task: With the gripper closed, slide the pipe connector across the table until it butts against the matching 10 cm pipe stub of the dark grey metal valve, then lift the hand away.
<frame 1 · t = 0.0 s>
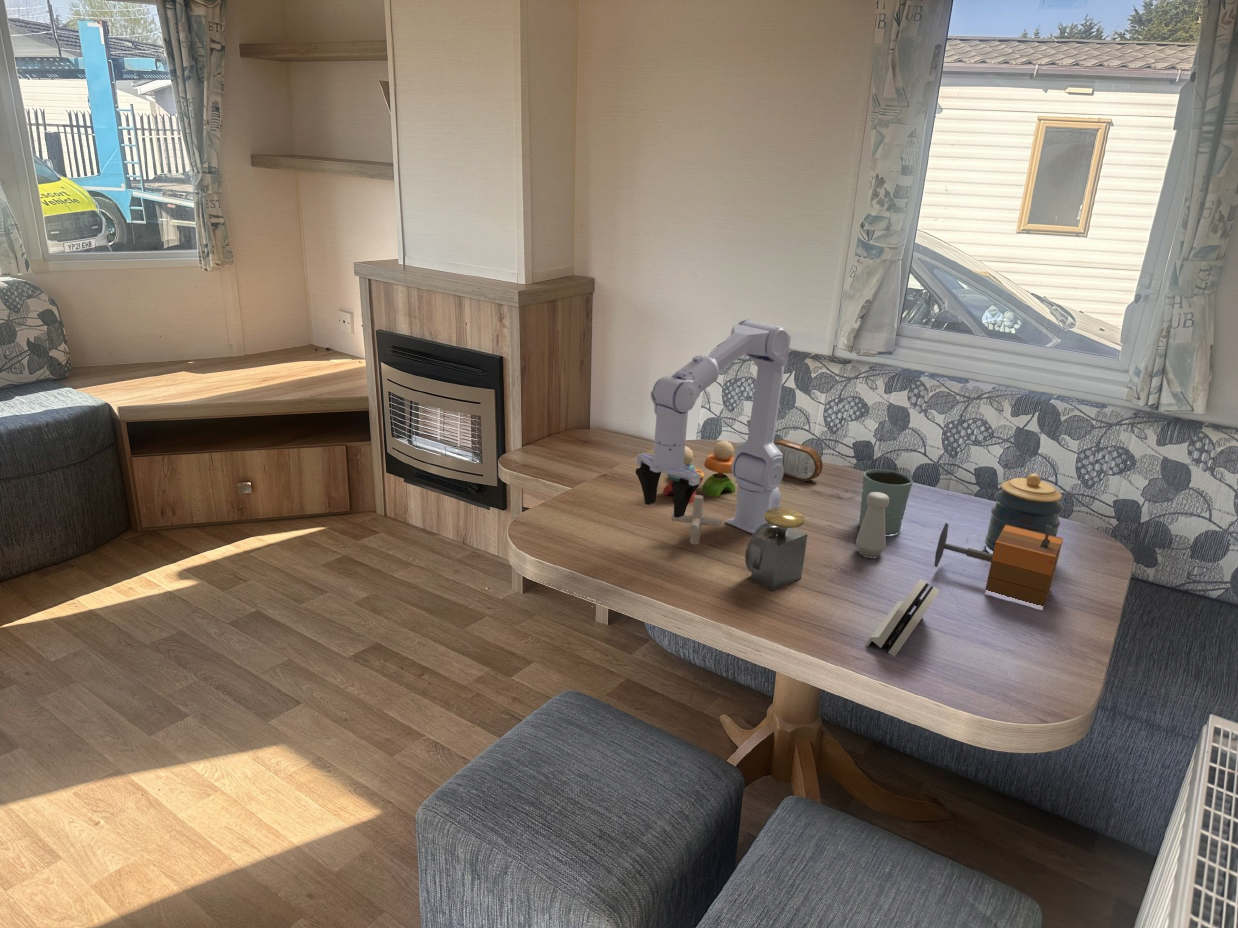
hand: (664, 509, 167), 10 cm above the table, tool pointing down, fingers open, 7 cm apart
valve: (774, 578, 164), on the table
colourful wooden stacking toy: (690, 491, 207), on the table
tin: (791, 476, 221), on the table
pipe connector: (694, 543, 178), on the table
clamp: (989, 586, 168), on the table
hinge: (902, 635, 148), on the table
salt shaker: (868, 554, 178), on the table
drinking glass: (879, 529, 191), on the table
canister: (1016, 554, 182), on the table
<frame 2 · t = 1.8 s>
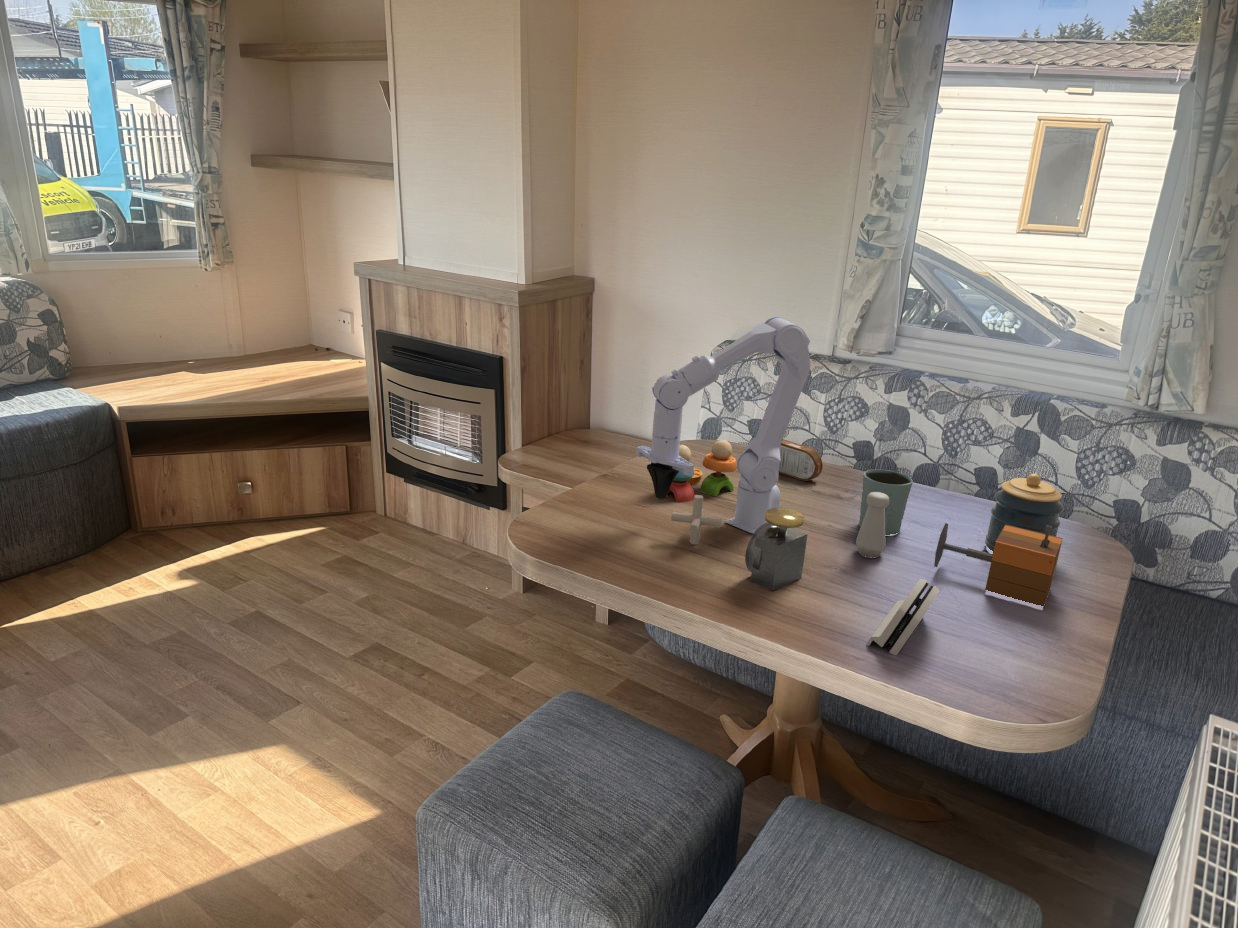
hand: (661, 497, 182), 7 cm above the table, tool pointing down, fingers closed
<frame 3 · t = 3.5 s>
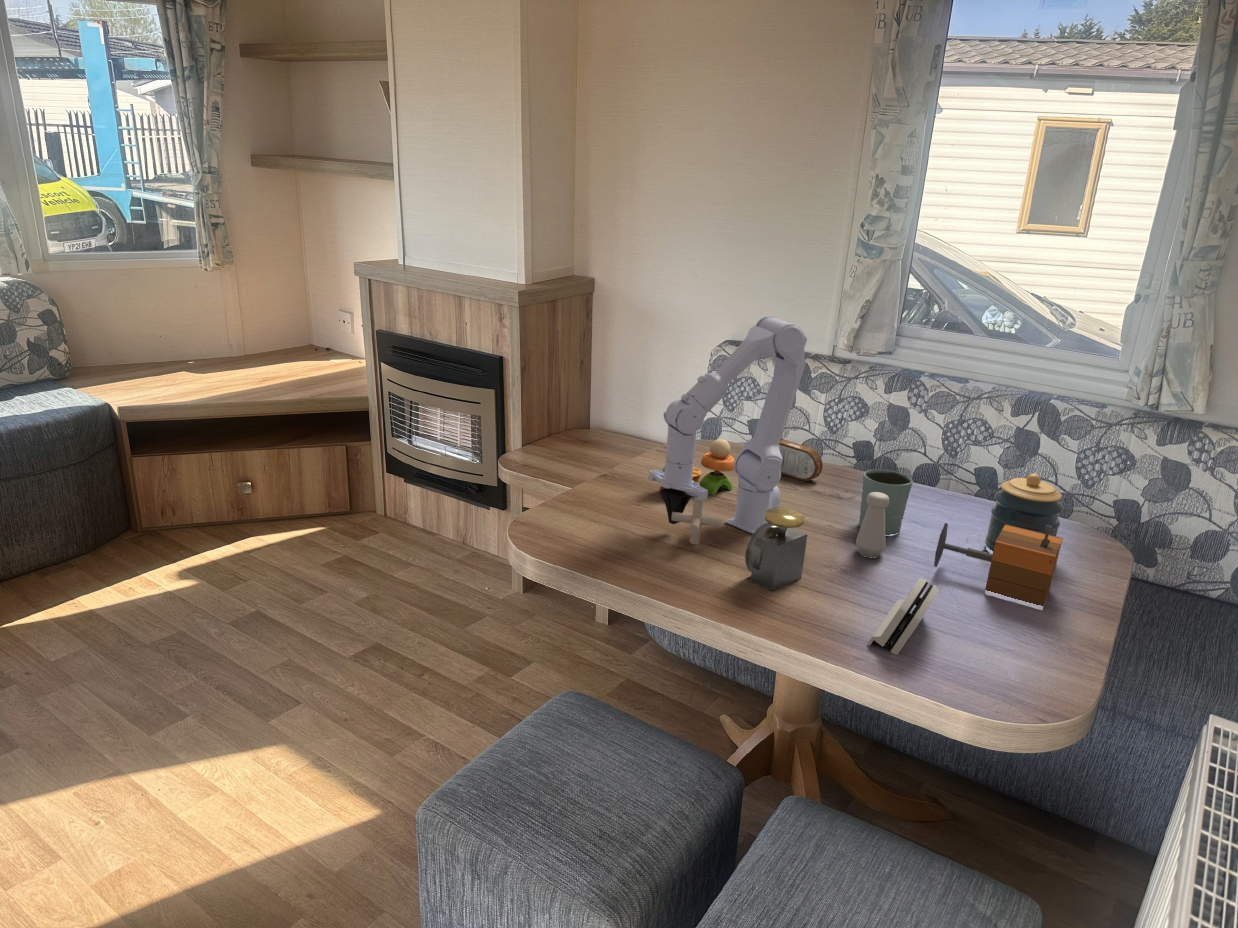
hand: (674, 522, 181), 2 cm above the table, tool pointing down, fingers closed
pipe connector: (694, 543, 178), on the table, touching gripper
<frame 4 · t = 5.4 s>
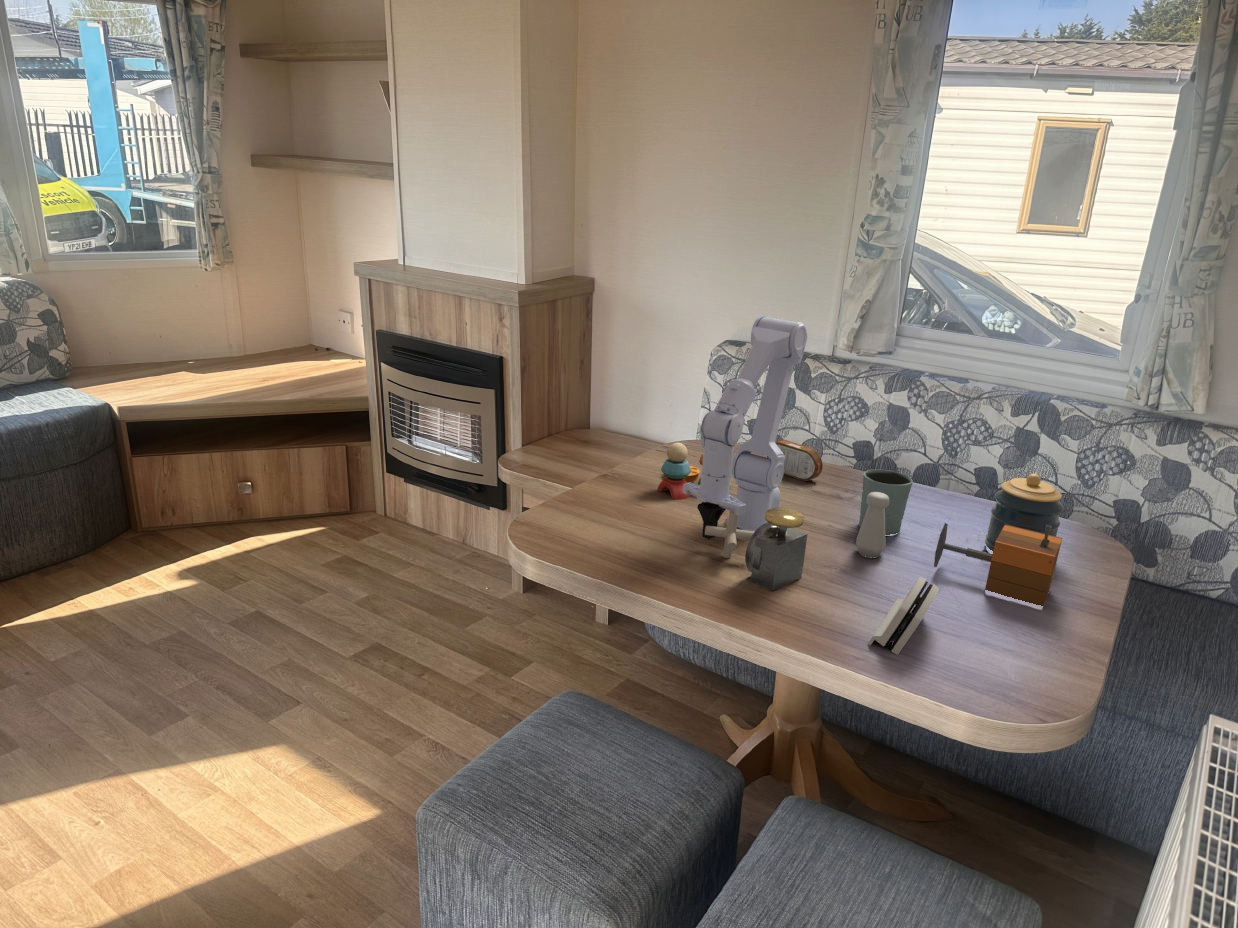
hand: (709, 537, 174), 3 cm above the table, tool pointing down, fingers closed, pressing on pipe connector
pipe connector: (726, 556, 173), on the table, touching gripper
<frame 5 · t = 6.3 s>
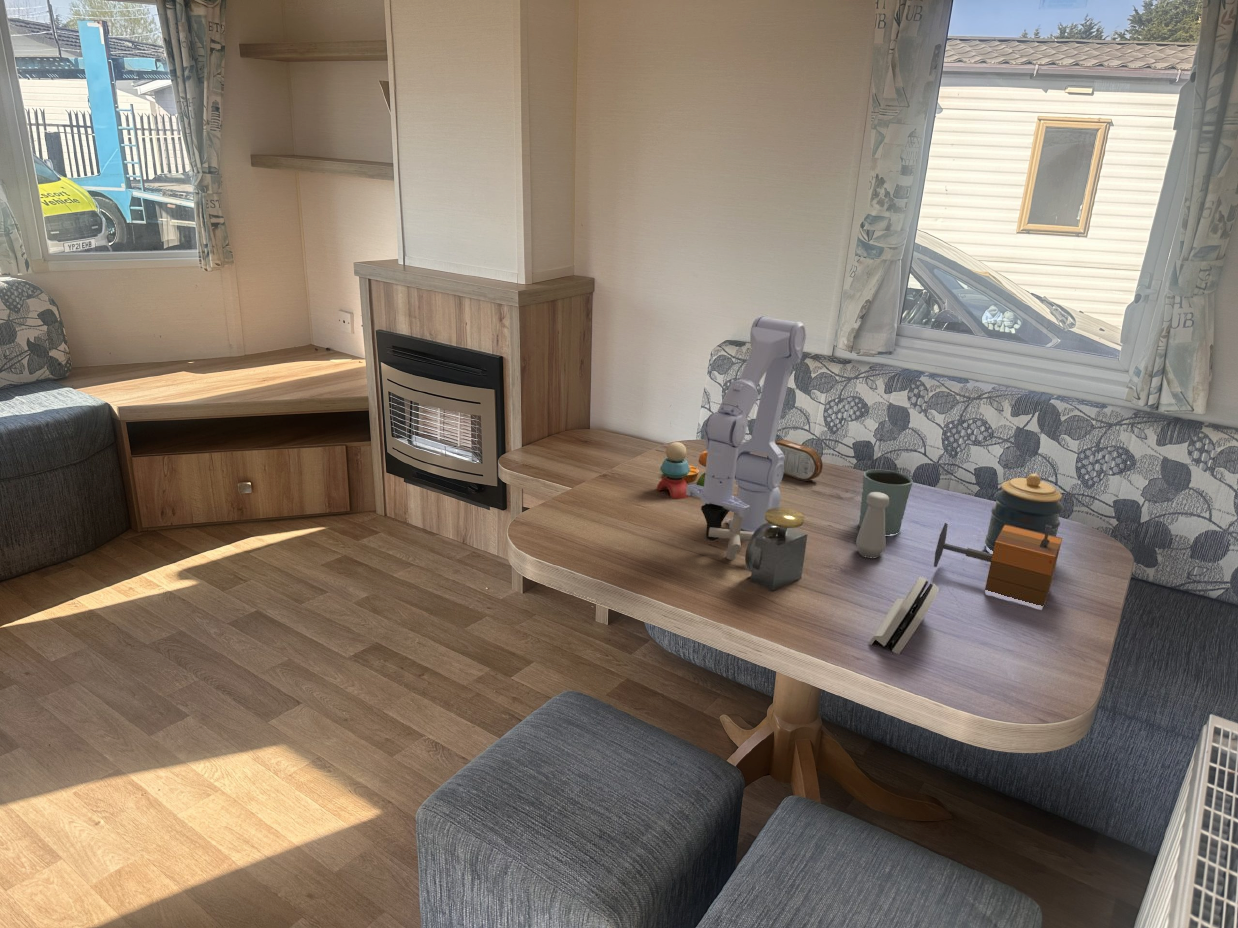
hand: (712, 538, 173), 3 cm above the table, tool pointing down, fingers closed, pressing on pipe connector
pipe connector: (730, 558, 172), on the table, touching gripper
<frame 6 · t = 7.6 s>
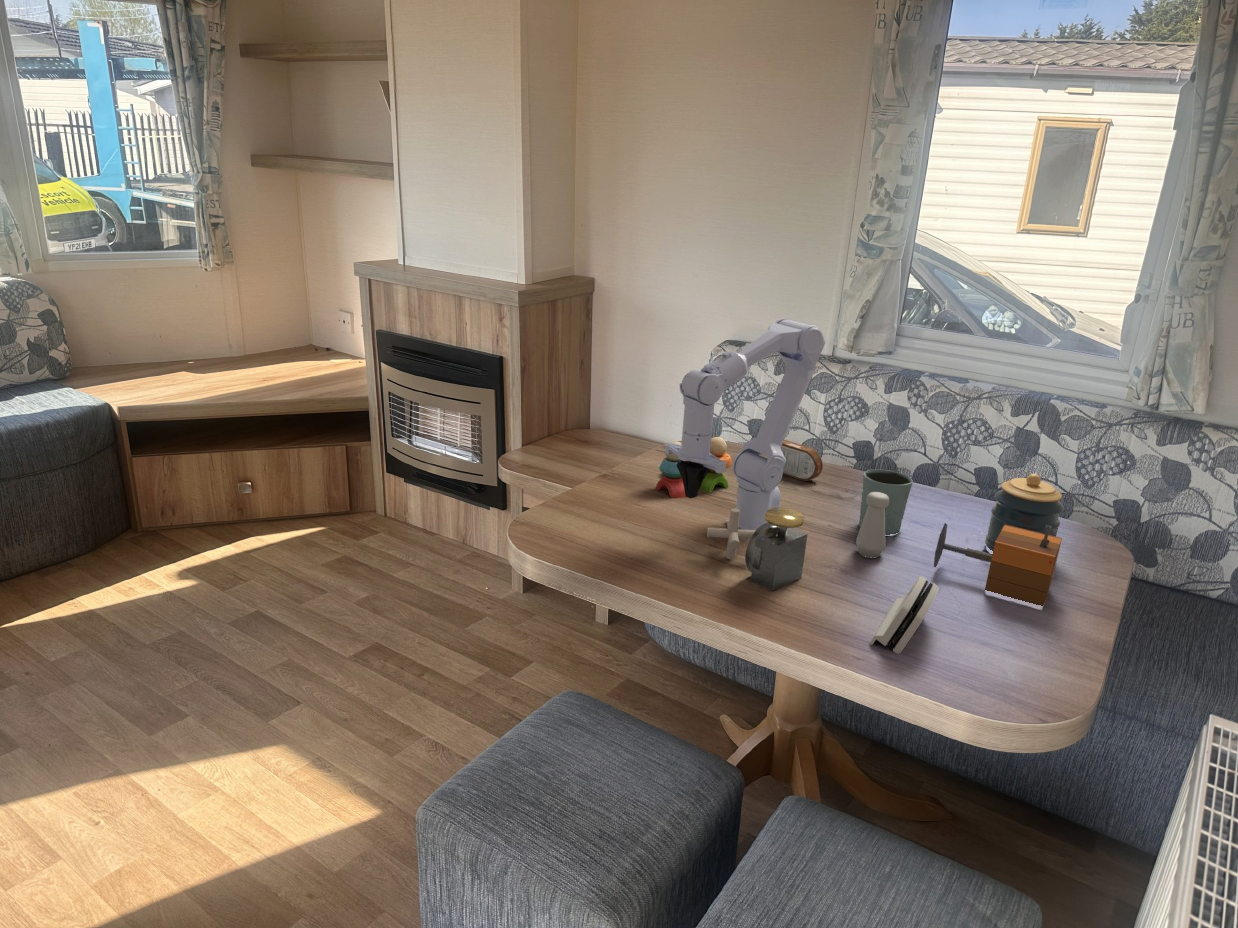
hand: (691, 496, 176), 9 cm above the table, tool pointing down, fingers closed
pipe connector: (730, 558, 172), on the table
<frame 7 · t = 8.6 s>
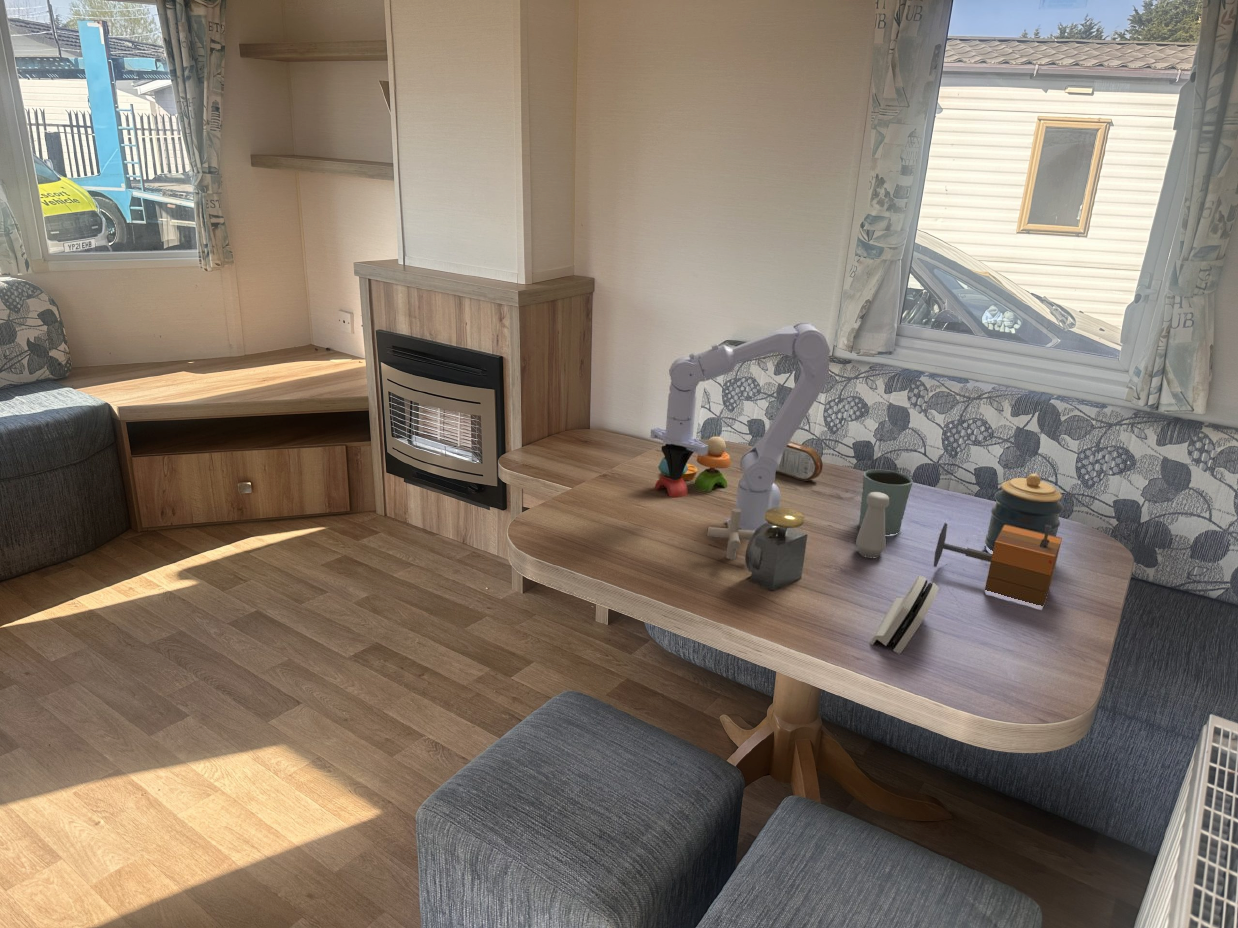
hand: (675, 478, 185), 9 cm above the table, tool pointing down, fingers closed
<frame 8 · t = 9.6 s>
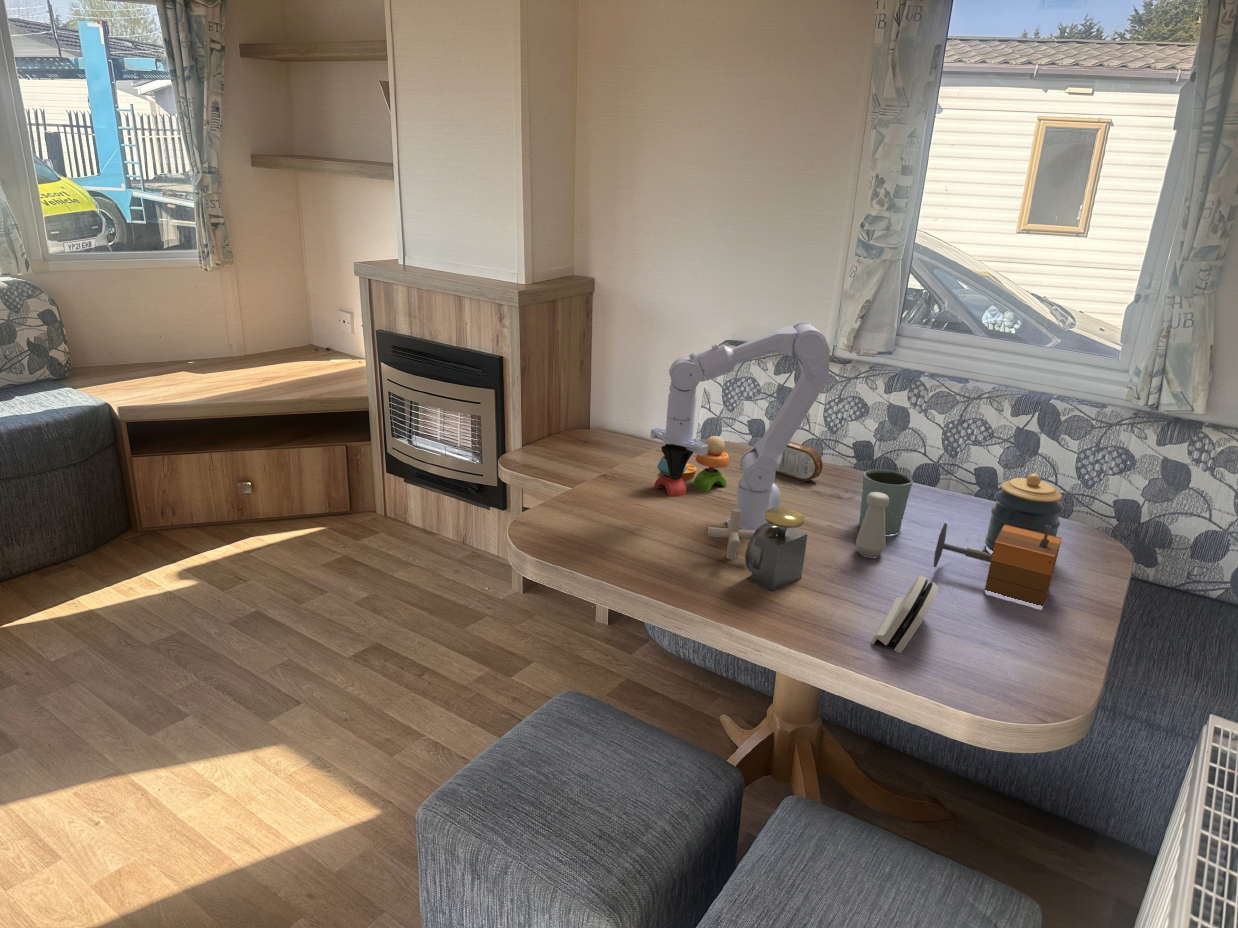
hand: (675, 478, 185), 9 cm above the table, tool pointing down, fingers closed
at the end: pipe connector 0.9 cm from the target spot on the table beside the valve, on the table; pipe connector moved 9.1 cm from its start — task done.
